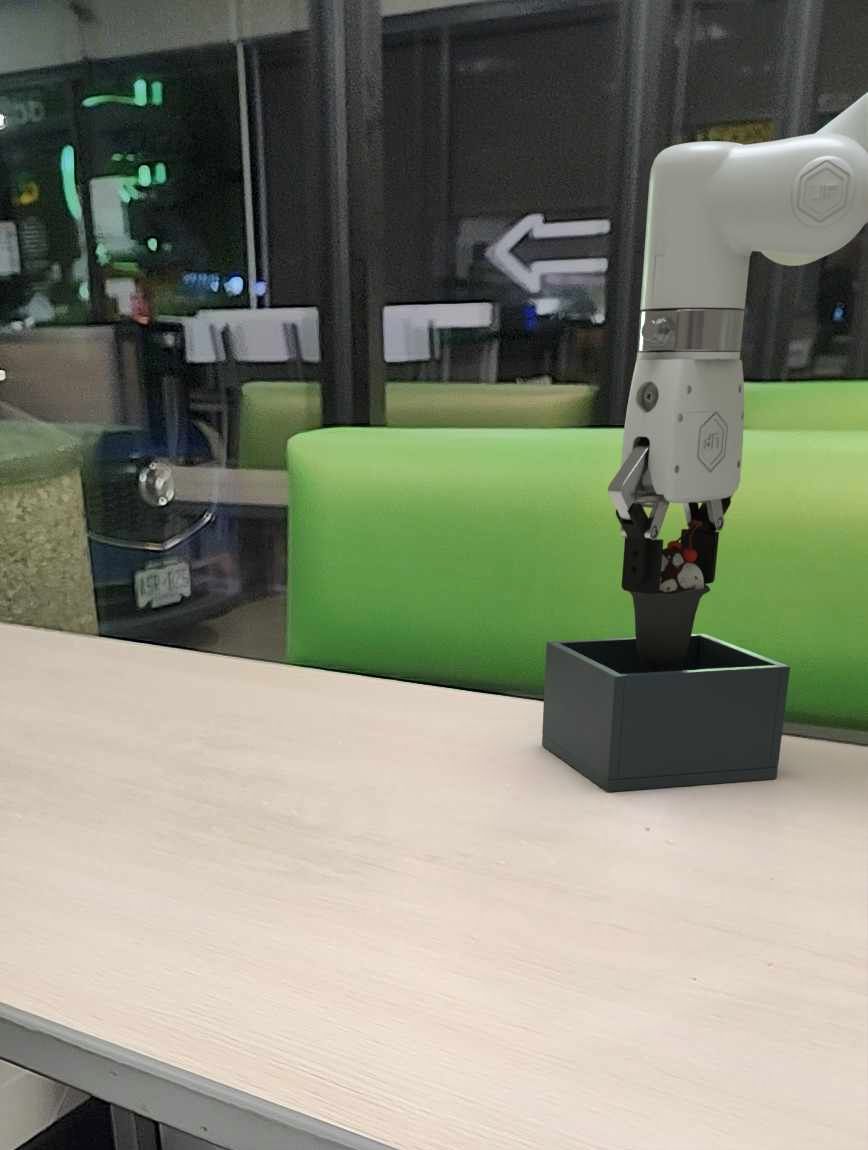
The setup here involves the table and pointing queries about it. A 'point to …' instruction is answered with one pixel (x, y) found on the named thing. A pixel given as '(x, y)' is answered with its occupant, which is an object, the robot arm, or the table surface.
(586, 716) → the bin
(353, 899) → the table surface
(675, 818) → the table surface
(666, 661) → the sundae
